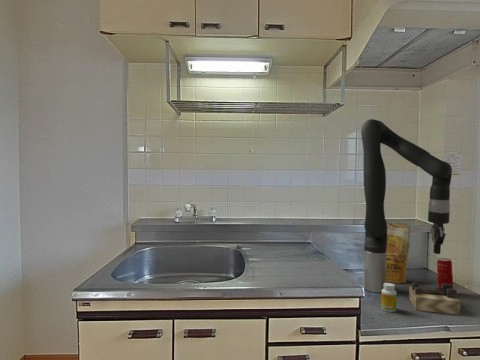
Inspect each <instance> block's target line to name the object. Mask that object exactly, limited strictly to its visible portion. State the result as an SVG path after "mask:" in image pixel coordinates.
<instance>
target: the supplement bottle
mask: <svg viewBox="0 0 480 360" xmlns="http://www.w3.org/2000/svg"><path fill="white" fill-rule="evenodd" d="M383 287H384V289H382V292H380V293H381V300H380V301H381V303H380V308H381V309H382V311H384V312H389V313H394V312H396V311H397V296H398V295H397V294H398V293H397V291H396V289H395V288H396V285H395V283H390V282H386V283H384V286H383Z"/></svg>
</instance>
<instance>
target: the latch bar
mask: <svg viewBox="0 0 480 360" xmlns="http://www.w3.org/2000/svg"><path fill="white" fill-rule="evenodd" d="M415 287H417V288H421V289H422V290H421V293H434V294H446V290H447V289H449V288H438V287H434V286H433V287H432V286H420V285H418V286H415ZM415 287H414V288H415Z"/></svg>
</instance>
